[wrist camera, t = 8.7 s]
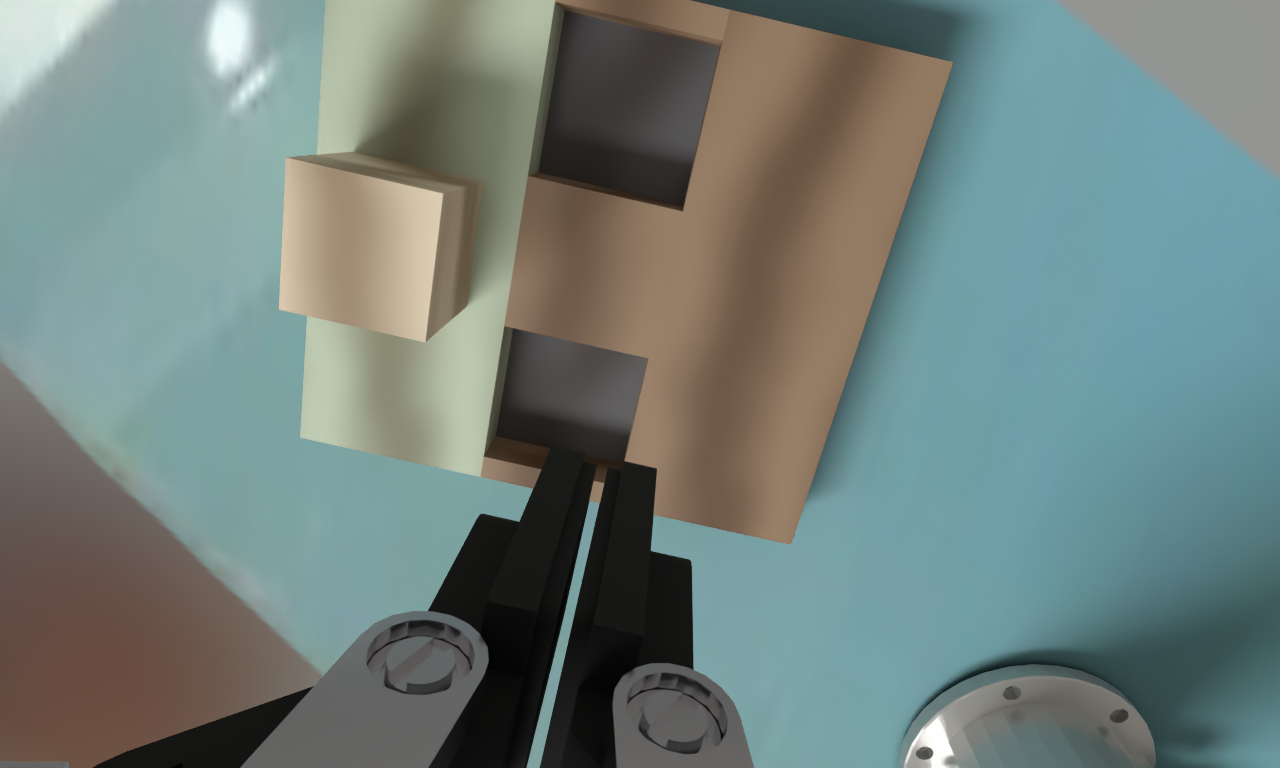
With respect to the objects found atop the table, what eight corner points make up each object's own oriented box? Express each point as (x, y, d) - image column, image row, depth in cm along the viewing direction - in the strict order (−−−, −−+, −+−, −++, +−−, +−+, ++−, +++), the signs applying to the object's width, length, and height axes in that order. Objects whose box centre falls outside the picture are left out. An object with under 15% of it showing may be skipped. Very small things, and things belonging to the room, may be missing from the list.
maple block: (484, 181, 27) (443, 193, 23) (466, 306, 29) (425, 342, 24) (353, 151, 27) (285, 157, 23) (343, 279, 29) (279, 309, 24)
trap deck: (930, 67, 28) (953, 62, 25) (783, 515, 34) (790, 544, 32) (361, -67, 27) (330, -85, 25) (326, 415, 34) (300, 437, 32)
